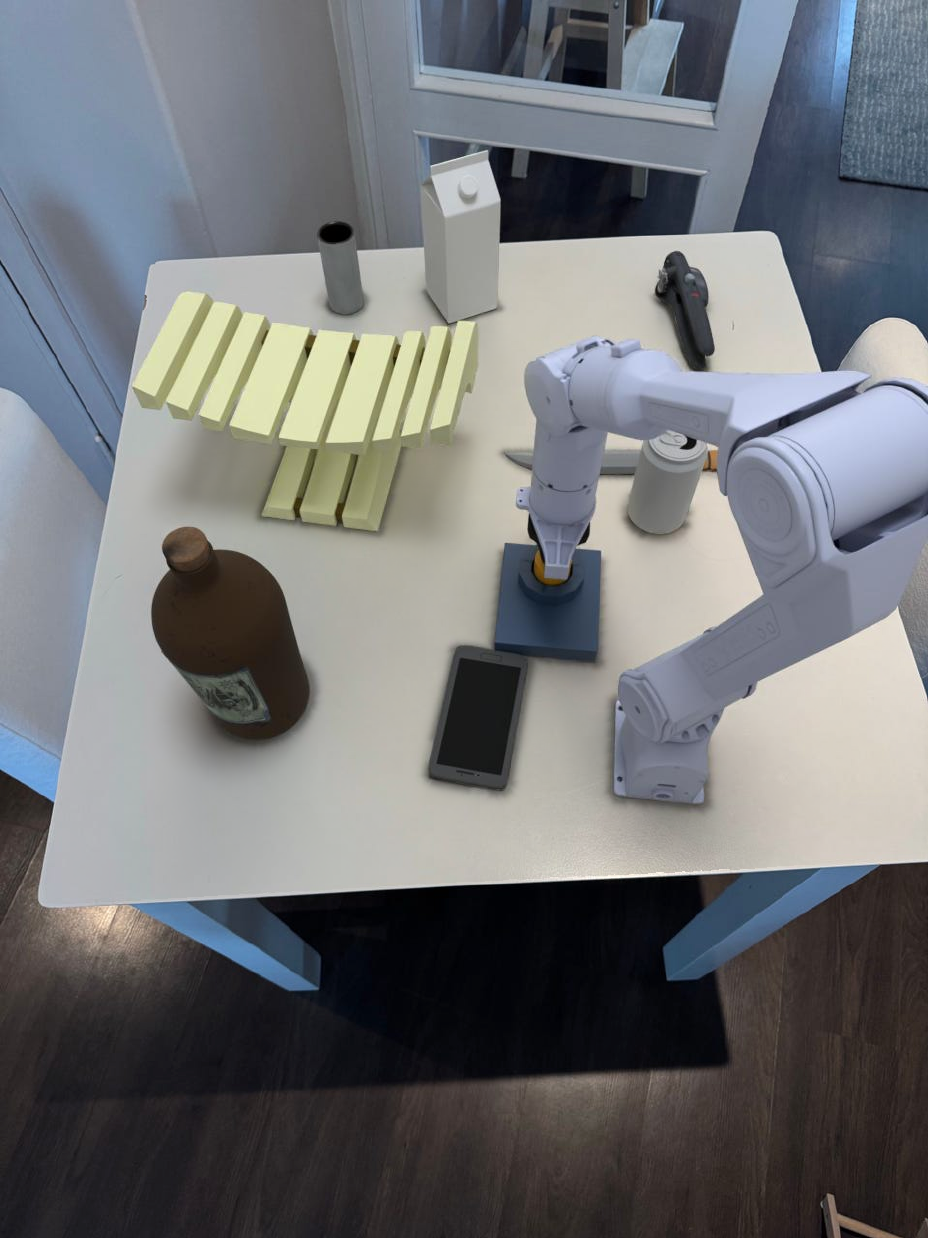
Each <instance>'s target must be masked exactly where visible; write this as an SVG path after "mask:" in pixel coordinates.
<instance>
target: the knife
mask: <svg viewBox="0 0 928 1238" xmlns="http://www.w3.org/2000/svg"><path fill="white" fill-rule="evenodd" d="M640 452H641V449H605V450H604V455H603V460H602V465H601V470H600V475H618V474H619V475H623V474H624V475H629V474H630V475H632V474H633V475H635V472H636V468H637V464H638V460H639V456H640ZM504 455H505V456H507V457H508V458H509V459H510V460H511V461H513V462H515V463H516V464H518V465H519V466H521V467H524V468H526V469H528V470H532V465H533V452H504ZM717 455H718V449H712V450H711V449H708V455H707V458H706V461H705V464H704V467H703V470H708V469H710V470H717Z"/></svg>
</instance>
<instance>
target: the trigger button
mask: <svg viewBox="0 0 928 1238" xmlns="http://www.w3.org/2000/svg"><path fill="white" fill-rule="evenodd" d="M571 563H572V558H571V560H570V566H569V572H568V577H569V574H570V569H571ZM544 571H545V564H544V563H543V562H542V559H541V556H540V552H539V550H538V551H537V553H536V555H535V563H534V574H535V576H536V578H537V579H538V580H539V581H540V582H542V583H543V584H546V585H551V586H554V585H559V584H562V583H563V582H565V581H566V580H565V579H552V578H545V577H544ZM567 579H568V578H567Z"/></svg>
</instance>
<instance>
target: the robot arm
mask: <svg viewBox="0 0 928 1238" xmlns="http://www.w3.org/2000/svg"><path fill="white" fill-rule="evenodd" d="M872 377H873V376H872V375H870V374H868V373H864V372H861V371H857V370H833V371H815V372H801V373H800V372H798V373H761V372H760V373H759V372H758V373H757V372H756V373H755V372H721V371H720V372H719V371H690V370H689V371H685V370H683V368H682V367H681V365H680V364H679V362H677V360H676V359H675V358H674V357H673V356H671V355H670V354H669V353H667V352H665V351H662V350H657V349H646V348H642V345H641V341H640V340H639V339H635V338H628V339H625V340H623V341H620V342H617V343H616V341H614V340H612V339H610V338H604V337H603V336H602V337H601V336H600V335H591V336H588V337H587V338H583V339H581V340H579V341H576V342H574V343H571V344H568V345H566V346H564V347H561V348H558V349H556V350H553V351H550V352H548V353H546V354H543V355H540V356H538V357H536V359H535V360H531V361H529V362H528V363H527V364H526V366H525V368H524V374H523V383H524V390H525V394H526V398H527V400H528V401H527V402H528V405H529V408H530V409H531V411H532V414H533V415H534V417H535V420H536V421H535V432H534V444H533V452H532V453H533V465H532V469H531V476H530V477H531V478H530V485H529V486H520V487H519V488H517V490H516V497H515V507H516V508H517V509H518V510H524V511H527V512H528V517H527V529H526V530H527V531H526V532H527V535H528V538H529V539H530V540H532V542H535V545H537V546H538V548H539V552H540V556H541V559H542V562H543V563H544V564H545V571H544V577H545V578H552V579H565V580H567V578H568V572H569V566H570V560H571V558H572V555H573V553H574V551H575V549H577V547H579V546H581V545H584V544H586V543H587V541H588V539H589V538H590V533H591V520H592V518H593V516H594V514H595V512H596V508H597V496H596V495H597V491H598V486H599V481H600V476H601V474H600V470H601V465H602V460H603V455H604V450H606V444H607V440H608V433H609V434H612V435H617V436H620V437H623V438H624V437H625V438H630V439H632V440H636V441H643V440H650V439H654V438H657V437H659V436H661V435H662V434H664V433H665V432H667V431H668V430H671V431H674V432H676V433H679V434H682V435H685V436H688V437H691V438H694V439H697V440H699V441H702V442H705V443H707V445H708V444H709V445H711V446H714V447H716V448H718V449H717V450H718V455H717V469H716V472H717V481H718V482H717V483H718V488H719V491H720V493H721V494H722V495H723V496H724V497H726V498H727V501H728V505H729V508H730V512H731V514H732V517H733V519H734V521H735V522H736V525H737V528H738V530H739V533H740V536H741V540H742V542H743V545H744V547H745V550H746V552H747V555H748V558H749V561H750V563H751V566H752V568H753V571H754V573H755V576H756V578H757V580H758V583H759V586H760V588H761V591H762V595H761V596H759V597H757V598H756V599H755V600H753V601H752V602H750V603H749V604H748V605H746V606H745V607H743V608H742V609H740V610H739V611H737V612H736V613H734V614H733V615H731V616H730V617H729V618H727V619H726V620H724V621H723V622H721V623H720V624H718V625H717V626H712V627H709V628H708V629H706V630H704V631H703V632H702V633H701V634H700V635H698V636H696V637H694V638H692V639H690V640H688V641H686V642H684V643H682V644H680V645H678V646H676V647H674V648H672V649H670V650H668V651H666V652H664V653H663V654H661V655H658V656H657V657H654V658H653V659H651V660H649V661H647V662H645V663H643V664H641V665H639V666H637V667H635V668H633V669H631V668H630V669H627V670H624V671H623V672H621V674H620V675H619V676H618V684H617V695H618V699H617V700H616V701H615V704H614V747H613V748H614V752H613V793H614V795H615V796H617V797H622V798H623V797H624V798H633V799H634V798H635V799H643V800H653V801H663V802H671V803H673V802H674V803H682V804H690V805H691V804H692V805H701V804H703V802H704V801H705V785H706V783H707V781H708V778H709V777H708V776H709V764H708V763H709V762H708V750H709V745H710V741H711V738H712V735H713V733H714V731H715V730H716V727H717V725H719V722H720V721H721V719H722V716H723V714H724V711H725V709H726V708H727V707H729V706H731V705H733V704H734V703H737V702H738V701H740V700H741V699H742V700H744V699H747V698H748V697H751V696H752V695H753V694H754V693H755V691H756V690H757V687H758V683H759V682H760V681H762V680H764V679H766V678H768V677H771V676H773V675H774V674H776V673H779V672H781V671H783V670H785V669H788V668H789V667H791V666H793V665H795V664H798V663H800V662H802V661H804V660H806V659H808V658H810V657H812V656H814V655H816V654H818V653H820V652H822V651H824V650H826V649H828V648H831V647H834V646H835V645H837V644H839V643H841V642H844V641H845V640H847V639H850V638H851V637H852V636H855V635H857V634H858V633H861V632H862V631H864V630H866V629H868V628H869V627H871V626H873V625H876V624H878V623H879V622H881V621H883V620H885V619H887V618H888V617H889V616H890V615H891V614H892V613H894V612H895V611H896V610H897V608H898V607H899V605H900V603H901V600H902V598H903V596H904V594H905V591H906V588H907V586H908V584H909V583H910V580H911V577H912V575H913V573H914V570H915V568H916V566H917V563H918V561H919V559H920V556H921V555H922V552H923V549H924V547H925V545H926V543H927V540H928V386H927V384H924V383H922V382H920V381H918V380H916V379H912V378H908V377H890V378H886V379H883V380H880V381H877V382H876V383H874V384H872V385H871V386H868V387H867V388H865V389H864V391H863V392H862V393H861V392H858V391H857V389H858V388H859V387H860V386H861V385H863V384H864V382H866V381H868V380H869V379H871V378H872ZM620 709H622V710H620ZM618 779H621V781H619V780H618Z"/></svg>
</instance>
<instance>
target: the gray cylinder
mask: <svg viewBox="0 0 928 1238" xmlns="http://www.w3.org/2000/svg"><path fill="white" fill-rule="evenodd" d="M316 238H317V244H318V249H319V255H320V260H321V265H322V271H323V277H324V282H325V289H326V293H327V294H326V295H327V300H328V304H329V307H330V309H331V310H332V311H333V312H334V313H337V314H339V315H352V314H354V313H357V312H359V311H360V310H361V309H362V307H363V306H364V302H365V301H364V292H363V285H362V277H361V269H360V264H359V262H360V261H359V255H358V247H357V240H356V233H355V229H354V227H353V226H352V225H351V224H350V223H347V222H346V221H341V220H334V221H329V222H326V223H324V224H322V225H321V226H320V227H319V228H318V229H317V232H316Z"/></svg>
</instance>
